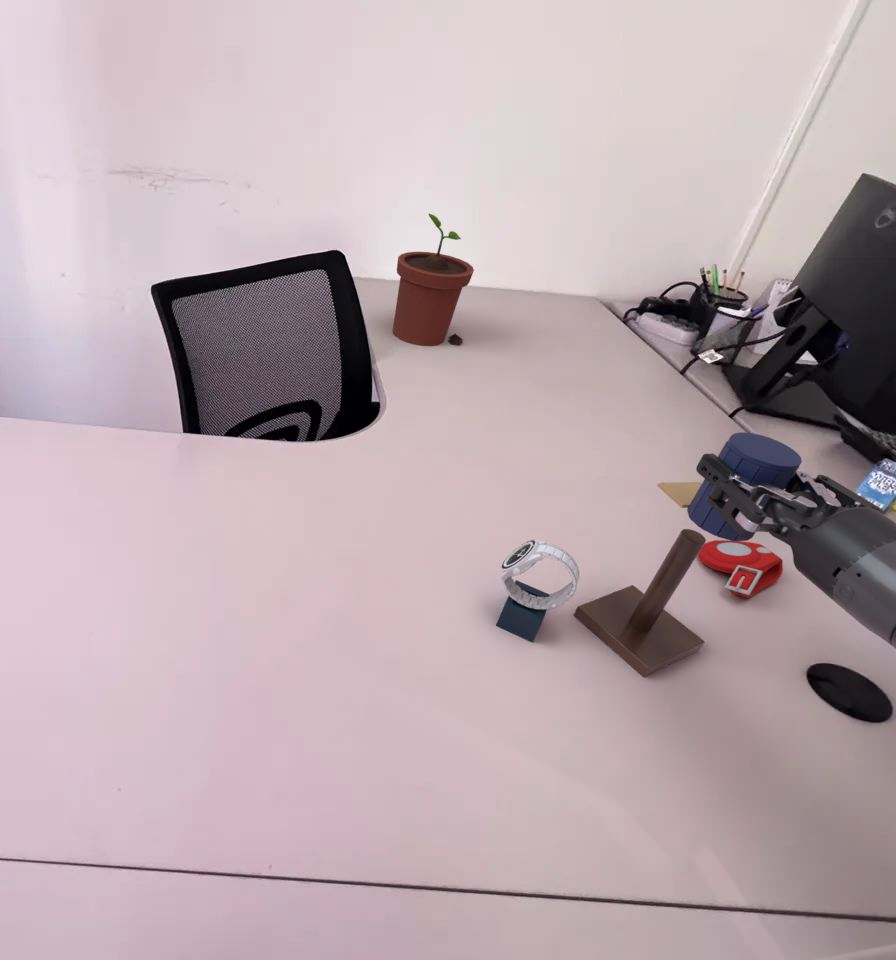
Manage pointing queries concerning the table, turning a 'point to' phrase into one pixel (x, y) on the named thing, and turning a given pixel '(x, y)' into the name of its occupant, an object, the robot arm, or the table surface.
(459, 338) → the potted plant
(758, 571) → the tracker holder
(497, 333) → the table surface
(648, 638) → the stand
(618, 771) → the table surface
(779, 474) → the cap
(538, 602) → the watch
